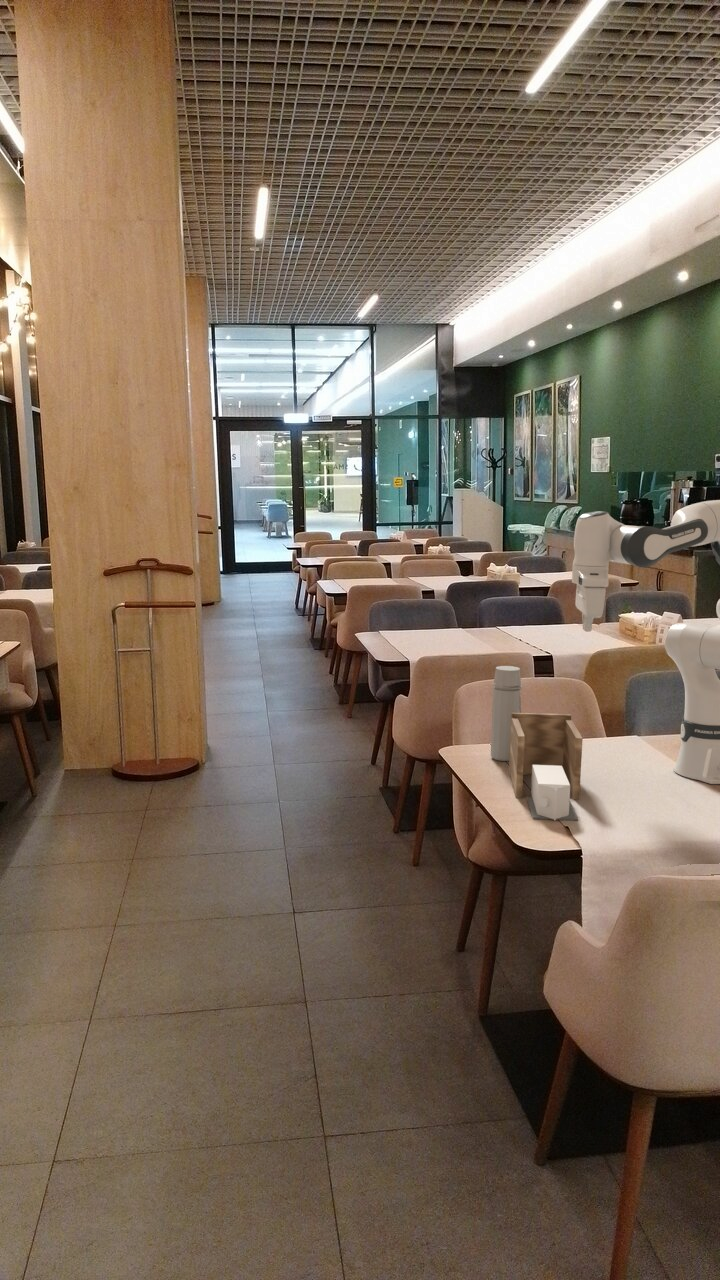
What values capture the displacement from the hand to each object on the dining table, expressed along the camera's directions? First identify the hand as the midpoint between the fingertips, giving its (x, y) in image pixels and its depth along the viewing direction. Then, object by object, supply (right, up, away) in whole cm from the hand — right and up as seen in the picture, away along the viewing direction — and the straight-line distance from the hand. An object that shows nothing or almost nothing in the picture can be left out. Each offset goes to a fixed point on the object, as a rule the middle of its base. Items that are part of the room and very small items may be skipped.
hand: (586, 630), depth 243 cm
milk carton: (-13, -36, -13) cm, 40 cm away
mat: (-14, -41, -23) cm, 49 cm away
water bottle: (-18, -35, +17) cm, 43 cm away
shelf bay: (-12, -39, -6) cm, 41 cm away
